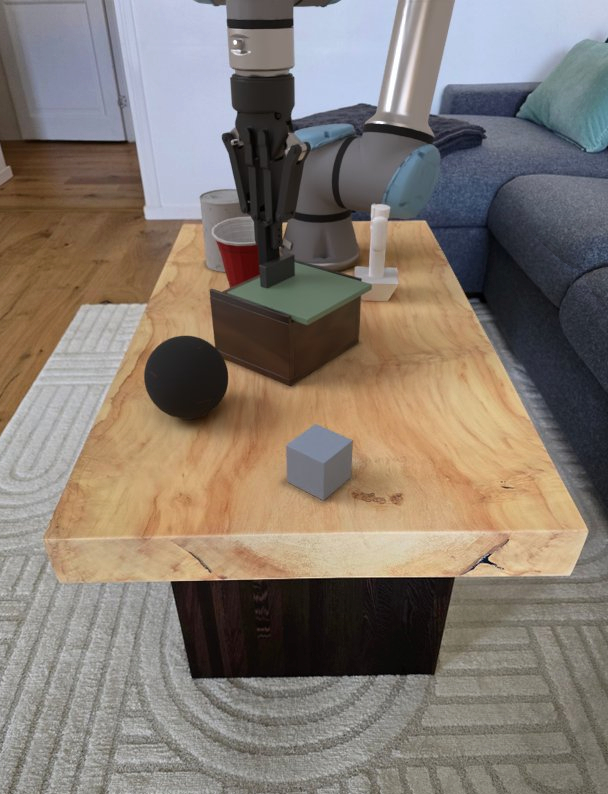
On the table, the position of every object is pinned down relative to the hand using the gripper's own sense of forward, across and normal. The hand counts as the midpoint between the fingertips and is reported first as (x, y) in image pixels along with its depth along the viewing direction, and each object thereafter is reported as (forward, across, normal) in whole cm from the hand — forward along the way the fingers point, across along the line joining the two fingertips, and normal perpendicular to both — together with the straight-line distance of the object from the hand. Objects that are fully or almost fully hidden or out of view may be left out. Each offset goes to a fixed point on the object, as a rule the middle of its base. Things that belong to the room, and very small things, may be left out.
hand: (269, 269), depth 87 cm
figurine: (+12, +2, +24) cm, 27 cm away
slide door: (+2, +5, 0) cm, 6 cm away
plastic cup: (+12, -14, +10) cm, 21 cm away
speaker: (+12, +4, -20) cm, 24 cm away
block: (+11, +25, -21) cm, 34 cm away
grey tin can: (+12, -28, +20) cm, 36 cm away
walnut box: (+11, +3, 0) cm, 12 cm away
